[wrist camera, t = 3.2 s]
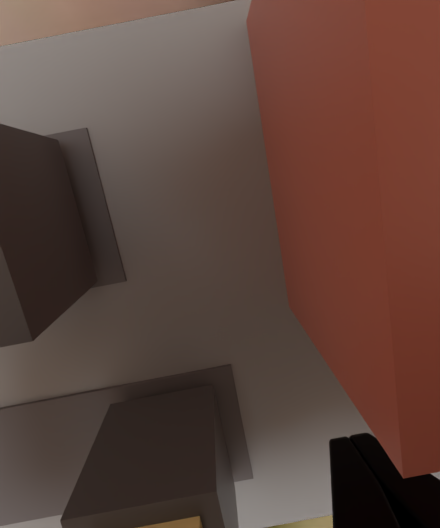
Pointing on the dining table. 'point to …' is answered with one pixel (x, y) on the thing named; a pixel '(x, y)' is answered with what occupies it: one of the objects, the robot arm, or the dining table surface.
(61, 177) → the block
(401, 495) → the robot arm
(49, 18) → the dining table surface
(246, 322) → the breaker panel
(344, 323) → the cap
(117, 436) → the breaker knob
